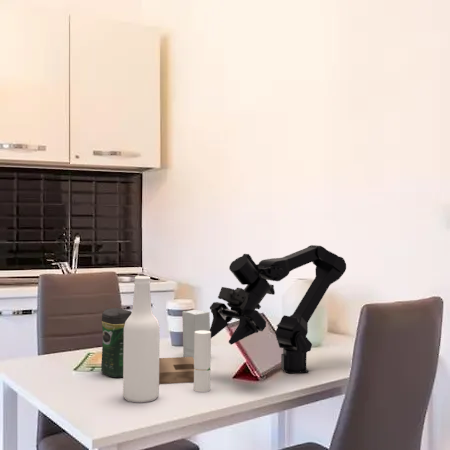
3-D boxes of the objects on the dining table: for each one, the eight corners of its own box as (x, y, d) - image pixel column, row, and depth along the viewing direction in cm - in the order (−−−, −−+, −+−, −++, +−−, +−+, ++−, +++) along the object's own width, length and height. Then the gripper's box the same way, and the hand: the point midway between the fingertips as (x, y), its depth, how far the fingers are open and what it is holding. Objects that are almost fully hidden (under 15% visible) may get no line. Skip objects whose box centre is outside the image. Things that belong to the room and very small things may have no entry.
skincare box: (211, 359, 185) (211, 312, 184) (194, 361, 181) (195, 313, 181) (197, 353, 192) (198, 308, 191) (181, 356, 188) (181, 310, 188)
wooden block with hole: (192, 366, 175) (192, 356, 175) (201, 381, 159) (201, 370, 159) (145, 368, 172) (145, 358, 172) (149, 384, 156) (149, 373, 156)
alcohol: (128, 404, 139) (129, 278, 139) (119, 394, 147) (120, 275, 147) (163, 400, 143) (164, 277, 142) (153, 390, 151) (154, 274, 150)
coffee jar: (138, 375, 165) (139, 309, 165) (113, 380, 160) (114, 312, 160) (121, 368, 173) (121, 305, 172) (96, 372, 168) (97, 307, 167)
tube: (198, 392, 149) (198, 334, 149) (191, 388, 153) (191, 331, 153) (213, 390, 151) (213, 332, 151) (205, 386, 155) (206, 329, 155)
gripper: (215, 273, 166) (182, 315, 159) (258, 279, 151) (223, 326, 144) (237, 299, 171) (205, 341, 164) (280, 307, 156) (247, 354, 149)
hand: (219, 340), depth 155 cm, fingers open, 9 cm apart
